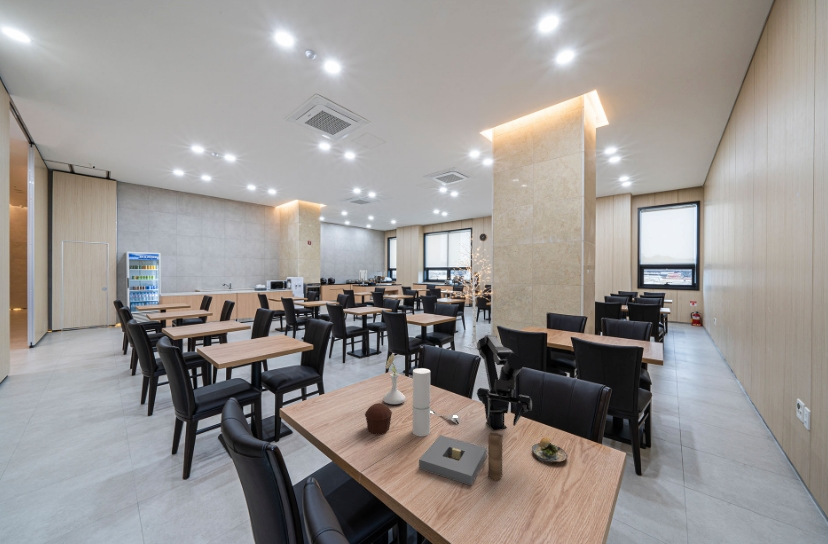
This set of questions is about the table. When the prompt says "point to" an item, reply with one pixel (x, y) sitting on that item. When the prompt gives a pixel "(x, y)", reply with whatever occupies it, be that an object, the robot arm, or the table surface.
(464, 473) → the hub plate
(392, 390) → the flower in vase
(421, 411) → the cylindrical container
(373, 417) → the muffin
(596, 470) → the table surface
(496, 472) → the walnut peg
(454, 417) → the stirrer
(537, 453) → the plate of food
